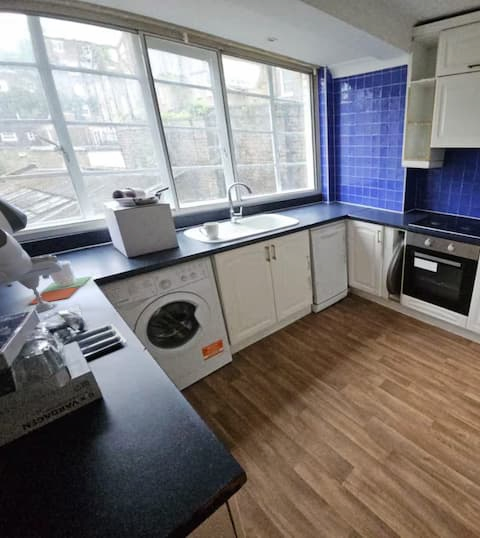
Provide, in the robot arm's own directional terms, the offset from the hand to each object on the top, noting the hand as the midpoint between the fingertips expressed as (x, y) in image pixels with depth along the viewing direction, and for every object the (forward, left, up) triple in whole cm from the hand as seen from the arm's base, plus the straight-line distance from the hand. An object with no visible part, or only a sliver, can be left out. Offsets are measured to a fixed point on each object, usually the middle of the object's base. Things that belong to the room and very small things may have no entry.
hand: (28, 281), depth 106 cm
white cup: (-2, +27, -12) cm, 30 cm away
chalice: (-1, +3, -13) cm, 13 cm away
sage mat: (-2, +27, -13) cm, 30 cm away
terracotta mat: (-2, +15, -13) cm, 20 cm away
